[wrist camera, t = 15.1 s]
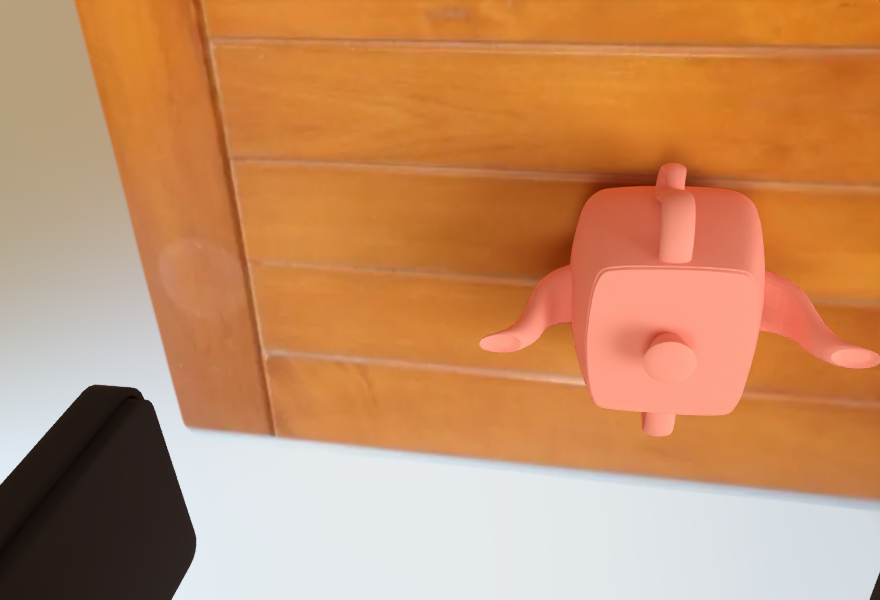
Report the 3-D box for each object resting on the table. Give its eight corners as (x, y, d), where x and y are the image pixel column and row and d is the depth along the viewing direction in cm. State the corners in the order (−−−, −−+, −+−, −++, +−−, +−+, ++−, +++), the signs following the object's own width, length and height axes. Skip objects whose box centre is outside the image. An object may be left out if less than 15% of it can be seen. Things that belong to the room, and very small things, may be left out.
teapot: (500, 248, 56) (474, 353, 46) (694, 94, 48) (716, 179, 38) (635, 378, 60) (639, 501, 50) (835, 257, 52) (890, 374, 42)
